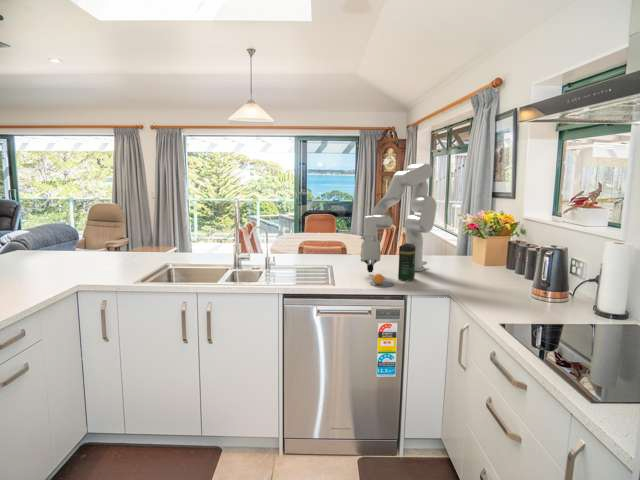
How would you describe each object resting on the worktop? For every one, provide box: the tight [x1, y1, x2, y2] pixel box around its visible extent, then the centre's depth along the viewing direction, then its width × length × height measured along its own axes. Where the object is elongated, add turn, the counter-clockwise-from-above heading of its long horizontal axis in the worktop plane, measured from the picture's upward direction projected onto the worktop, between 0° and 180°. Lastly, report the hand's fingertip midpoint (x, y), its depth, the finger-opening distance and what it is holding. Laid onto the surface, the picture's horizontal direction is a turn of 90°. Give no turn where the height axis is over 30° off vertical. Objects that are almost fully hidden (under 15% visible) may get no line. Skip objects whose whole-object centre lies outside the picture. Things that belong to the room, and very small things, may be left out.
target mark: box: [369, 280, 395, 288], centre depth 201 cm, size 12×12×1 cm
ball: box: [372, 273, 385, 285], centre depth 200 cm, size 6×6×6 cm
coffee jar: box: [397, 242, 416, 281], centre depth 211 cm, size 10×8×19 cm
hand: (370, 271), depth 223 cm, fingers closed
